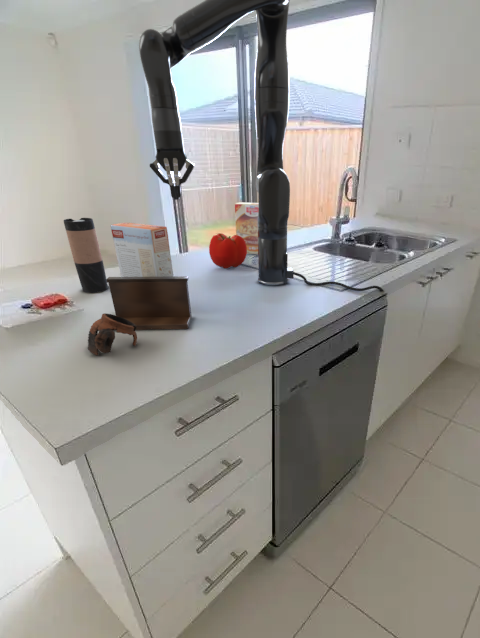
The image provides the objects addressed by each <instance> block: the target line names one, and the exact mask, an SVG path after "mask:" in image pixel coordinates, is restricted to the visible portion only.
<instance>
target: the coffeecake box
mask: <svg viewBox="0 0 480 638" xmlns="http://www.w3.org/2000/svg"><path fill="white" fill-rule="evenodd" d="M258 212H259V202H244V201H243V202H242V201H241V202H240V201H239V202H235V203H234V218H235V220H234V221H235V235H237V236H241V237H242V238H243V239H244V241H245V243H246V246H247V255H257V256H258V221H257V220H258Z"/></svg>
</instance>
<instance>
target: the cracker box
mask: <svg viewBox="0 0 480 638" xmlns="http://www.w3.org/2000/svg"><path fill="white" fill-rule="evenodd" d="M110 230H111V235H112V239H113V245H114V249H115V255H116V259H117V264H118V269H119V274H120V277H164V276H174V270H173V263H172V262H173V261H172V256H171V248H170V247H171V246H170V241H169V240H170V239H169V233H168V226H164V225H163V226H162V225H154V224H147V223H144V224H143V223H136V222H119V223H113V224H111V225H110Z"/></svg>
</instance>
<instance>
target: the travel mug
mask: <svg viewBox="0 0 480 638" xmlns="http://www.w3.org/2000/svg"><path fill="white" fill-rule="evenodd" d="M63 225H64V228H65V233H66V236H67V240H68V245H69V248H70V253H71V256H72V259H73V262H74V266H75V269H76V273H77V276H78V278H79V282H80V285H81V288H82V292H84V293H87V294H88V293H89V294H94V293H102V292H105V291H106V290H108V289H109V284H108V283H107V280H106V279H107V276H106V271H105V265H104V261H103V256H102V252H101V248H100V244H99V240H98V235H97V230H96V227H95V222H94V219H93V218H91V217H81V218H80V219H72V218H65V219H63Z"/></svg>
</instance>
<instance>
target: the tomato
mask: <svg viewBox="0 0 480 638" xmlns="http://www.w3.org/2000/svg"><path fill="white" fill-rule="evenodd" d="M208 253H209V257H210V260H211V261H212V263H213V264H214V265H216V266H217V267H219V268H223V269H227V270H228V269H230V268H237V267H239V266H241V265H243V263H244V262H245V260H246V259H247V255H248V254H247V246H246V243H245V241H244V239H243V238H242V237H241V236H237V235H236V234H234V235H232V236H231V235H229V236H227V235H226V234H225V233H222V232H221V233H218V232H217V233H215V234H214V235H213V236H212V237H211V239H210V241H209V246H208Z"/></svg>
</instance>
